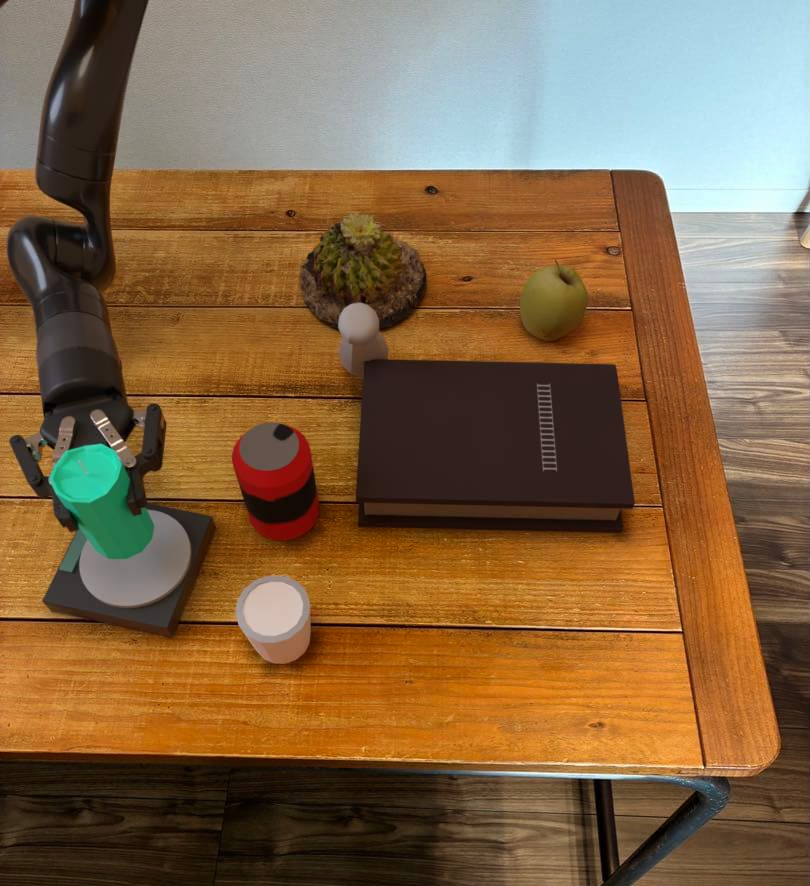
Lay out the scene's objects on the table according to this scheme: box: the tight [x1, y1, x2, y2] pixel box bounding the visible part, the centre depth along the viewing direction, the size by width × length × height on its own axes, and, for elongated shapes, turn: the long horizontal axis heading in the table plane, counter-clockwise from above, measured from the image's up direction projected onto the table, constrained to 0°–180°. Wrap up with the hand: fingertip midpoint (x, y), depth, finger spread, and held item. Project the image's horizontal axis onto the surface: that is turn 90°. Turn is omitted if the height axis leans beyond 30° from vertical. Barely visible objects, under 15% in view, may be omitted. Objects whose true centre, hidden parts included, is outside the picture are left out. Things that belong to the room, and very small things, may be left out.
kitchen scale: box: [41, 502, 217, 639], centre depth 83 cm, size 13×13×3 cm
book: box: [355, 358, 636, 534], centre depth 89 cm, size 28×20×6 cm
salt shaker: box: [338, 303, 390, 379], centre depth 91 cm, size 6×6×13 cm
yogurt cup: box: [234, 574, 311, 665], centre depth 78 cm, size 7×7×7 cm
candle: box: [49, 444, 155, 559], centre depth 73 cm, size 6×6×12 cm
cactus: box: [299, 211, 428, 330], centre depth 101 cm, size 17×16×10 cm
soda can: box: [231, 421, 320, 541], centre depth 83 cm, size 8×8×12 cm
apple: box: [519, 259, 589, 342], centre depth 97 cm, size 8×8×10 cm
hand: (103, 517), depth 71 cm, fingers closed on candle, 5 cm apart
